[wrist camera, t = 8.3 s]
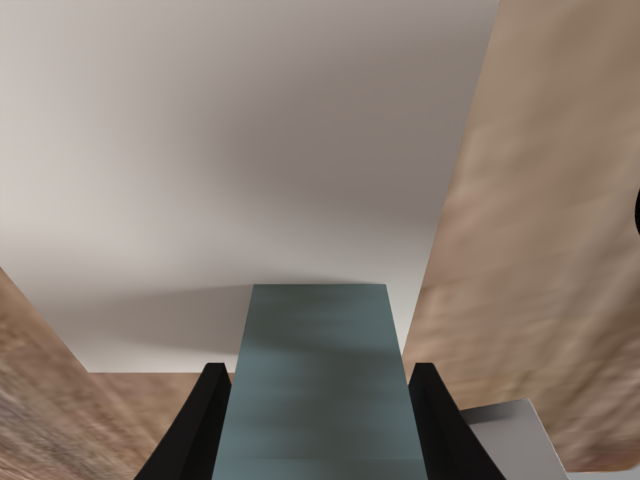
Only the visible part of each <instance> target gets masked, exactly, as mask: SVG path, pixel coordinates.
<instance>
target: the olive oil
mask: <svg viewBox="0 0 640 480" xmlns="http://www.w3.org/2000/svg"><path fill="white" fill-rule="evenodd" d="M635 224H636V228H637V231H638V233H639V235H640V189H639V192H638V195H637V199H636V204H635Z"/></svg>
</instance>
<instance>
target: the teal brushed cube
mask: <svg viewBox="0 0 640 480" xmlns="http://www.w3.org/2000/svg"><path fill="white" fill-rule="evenodd" d="M212 480H428V478H427V473H426V469H425V464H424V459H423V455H422V450H421V445H420V441H419V436H418V431H417V427H416V422H415V417H414V413H413V408H412V403H411V399H410V394H409V389H408V385H407V380H406V375H405V371H404V366H403V362H402V357H401V352H400V348H399V343H398V338H397V334H396V329H395V324H394V320H393V315H392V310H391V306H390V301H389V296H388V292H387V287H386V284H254V286H253V290H252V295H251V300H250V304H249V309H248V313H247V318H246V323H245V327H244V332H243V337H242V341H241V346H240V351H239V355H238V360H237V364H236V369H235V374H234V378H233V383H232V388H231V392H230V397H229V402H228V406H227V411H226V416H225V420H224V425H223V429H222V434H221V439H220V443H219V448H218V453H217V457H216V462H215V467H214V471H213V476H212Z"/></svg>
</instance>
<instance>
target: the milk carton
mask: <svg viewBox="0 0 640 480" xmlns="http://www.w3.org/2000/svg"><path fill="white" fill-rule="evenodd" d="M460 412H461V413H462V415H463V416H464V418H465V420H466V421H467V423H468V424H469V426H470V428H471V429H472V431H473V432H474V434H475V435H476V437H477V438H478V440H479V441H480V443H481V444H482V446H483V447H484V449H485V450H486V452H487V453H488V454H489V456H490V457H491V459H492V460H493V462H494V463H495V464H496V466H497V467H498V468H499V470H500V471H501V473H502V474H503V475H504V477H505V478H506V479H507V480H570V479H569V477H568V475H567V473H566V471H565V469H564V467H563V465H562V463H561V461H560V459H559V457H558V455H557V453H556V451H555V449H554V447H553V445H552V443H551V441H550V439H549V437H548V435H547V433H546V431H545V429H544V427H543V425H542V423H541V421H540V419H539V417H538V415H537V413H536V411H535V409H534V407H533V405H532V403H531V401H530V399H529V398H525V399H520V400H514V401H508V402H503V403H497V404H492V405H486V406H480V407H475V408H469V409H464V410H460Z"/></svg>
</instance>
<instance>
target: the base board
mask: <svg viewBox="0 0 640 480" xmlns="http://www.w3.org/2000/svg"><path fill="white" fill-rule="evenodd" d="M499 4H500V0H0V267H1V268H2V269H3V270H4V272H5V273H6V274H7V275H8V276H9V278H10V279H11V280H12V281H13V282H14V284H15V285H16V286H17V287H18V288H19V290H20V291H21V292H22V293H23V294H24V296H25V297H26V298H27V299H28V300H29V302H30V303H31V304H32V305H33V306H34V308H35V309H36V310H37V311H38V312H39V314H40V315H41V316H42V317H43V318H44V320H45V321H46V322H47V323H48V324H49V326H50V327H51V328H52V329H53V330H54V332H55V333H56V334H57V335H58V336H59V338H60V339H61V340H62V341H63V343H64V344H65V345H66V346H67V347H68V349H69V350H70V351H71V352H72V353H73V355H74V356H75V357H76V358H77V359H78V361H79V362H80V363H81V364H82V365H83V367H84V368H85V369H86V370H87V371H88V373H202V371H203V369H204V367H205V365H206V364H207V363H225V366H226V369H227V372H228V373H235V369H236V364H237V360H238V355H239V351H240V346H241V341H242V337H243V332H244V327H245V323H246V318H247V313H248V309H249V304H250V300H251V295H252V290H253V286H254V284H386V287H387V292H388V296H389V301H390V306H391V310H392V315H393V320H394V324H395V329H396V334H397V338H398V343H399V348H400V352H401V357H402V353H403V350H404V346H405V342H406V339H407V335H408V332H409V328H410V324H411V321H412V317H413V314H414V310H415V306H416V303H417V299H418V296H419V292H420V288H421V285H422V281H423V278H424V274H425V270H426V267H427V263H428V260H429V256H430V252H431V249H432V245H433V242H434V238H435V234H436V231H437V227H438V224H439V220H440V216H441V213H442V209H443V206H444V202H445V198H446V195H447V191H448V188H449V184H450V180H451V177H452V173H453V170H454V166H455V162H456V159H457V155H458V152H459V148H460V144H461V141H462V137H463V133H464V130H465V126H466V123H467V119H468V115H469V112H470V108H471V105H472V101H473V97H474V94H475V90H476V87H477V83H478V79H479V76H480V72H481V69H482V65H483V61H484V58H485V54H486V51H487V47H488V43H489V40H490V36H491V33H492V29H493V25H494V22H495V18H496V15H497V11H498V7H499Z"/></svg>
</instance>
